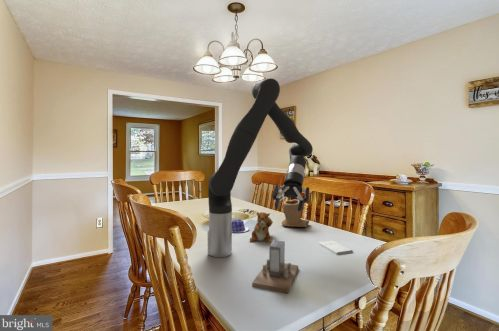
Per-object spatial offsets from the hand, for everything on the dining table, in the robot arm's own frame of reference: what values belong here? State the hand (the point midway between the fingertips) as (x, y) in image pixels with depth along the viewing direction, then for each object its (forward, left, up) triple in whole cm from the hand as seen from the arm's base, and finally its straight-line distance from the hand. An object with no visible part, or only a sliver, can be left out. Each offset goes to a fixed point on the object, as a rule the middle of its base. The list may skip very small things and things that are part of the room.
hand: (287, 209), depth 95 cm
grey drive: (-4, -13, -19) cm, 23 cm away
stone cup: (+6, +46, -20) cm, 50 cm away
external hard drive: (+21, +15, -21) cm, 33 cm away
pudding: (-25, +36, -20) cm, 48 cm away
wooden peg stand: (-4, -13, -20) cm, 24 cm away
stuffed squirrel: (-11, +24, -20) cm, 33 cm away
